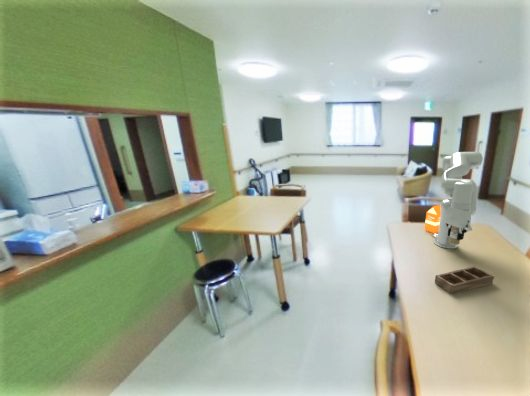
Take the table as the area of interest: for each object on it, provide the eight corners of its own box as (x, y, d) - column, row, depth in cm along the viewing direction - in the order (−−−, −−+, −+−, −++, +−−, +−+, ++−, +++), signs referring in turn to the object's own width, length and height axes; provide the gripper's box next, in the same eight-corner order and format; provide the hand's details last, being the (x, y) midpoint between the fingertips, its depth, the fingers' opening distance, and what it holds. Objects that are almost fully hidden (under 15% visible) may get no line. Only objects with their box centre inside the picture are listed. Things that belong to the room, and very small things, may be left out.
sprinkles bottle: (448, 243, 125) (452, 220, 121) (449, 240, 128) (452, 217, 124) (459, 245, 122) (463, 222, 118) (459, 242, 125) (463, 219, 121)
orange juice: (424, 229, 178) (427, 205, 173) (432, 227, 181) (435, 203, 175) (434, 233, 171) (438, 208, 166) (442, 230, 174) (446, 205, 168)
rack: (434, 282, 119) (435, 275, 118) (472, 273, 124) (474, 266, 123) (451, 294, 111) (453, 286, 109) (492, 283, 115) (493, 275, 114)
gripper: (439, 202, 126) (435, 232, 131) (471, 211, 110) (465, 245, 115) (450, 200, 128) (445, 230, 133) (484, 209, 112) (477, 243, 117)
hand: (455, 237), depth 124 cm, fingers closed on sprinkles bottle, 4 cm apart
